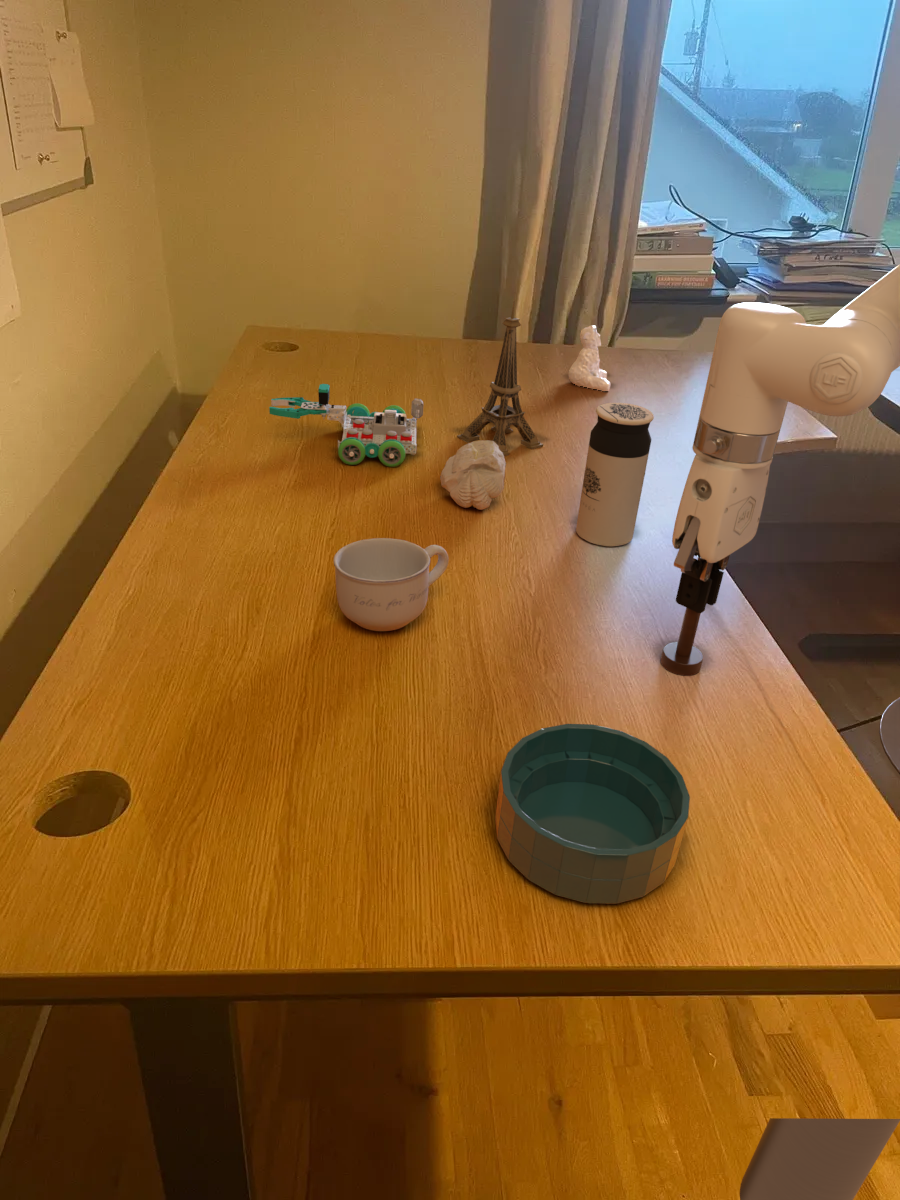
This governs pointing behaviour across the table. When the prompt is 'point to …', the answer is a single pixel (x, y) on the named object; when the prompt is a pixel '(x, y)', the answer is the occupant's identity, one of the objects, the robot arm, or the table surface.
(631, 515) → the travel mug
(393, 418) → the robot kit
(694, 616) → the stirring stick
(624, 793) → the bowl
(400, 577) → the teacup
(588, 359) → the sitting furry creature
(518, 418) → the eiffel tower
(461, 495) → the fossil replica
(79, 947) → the table surface
